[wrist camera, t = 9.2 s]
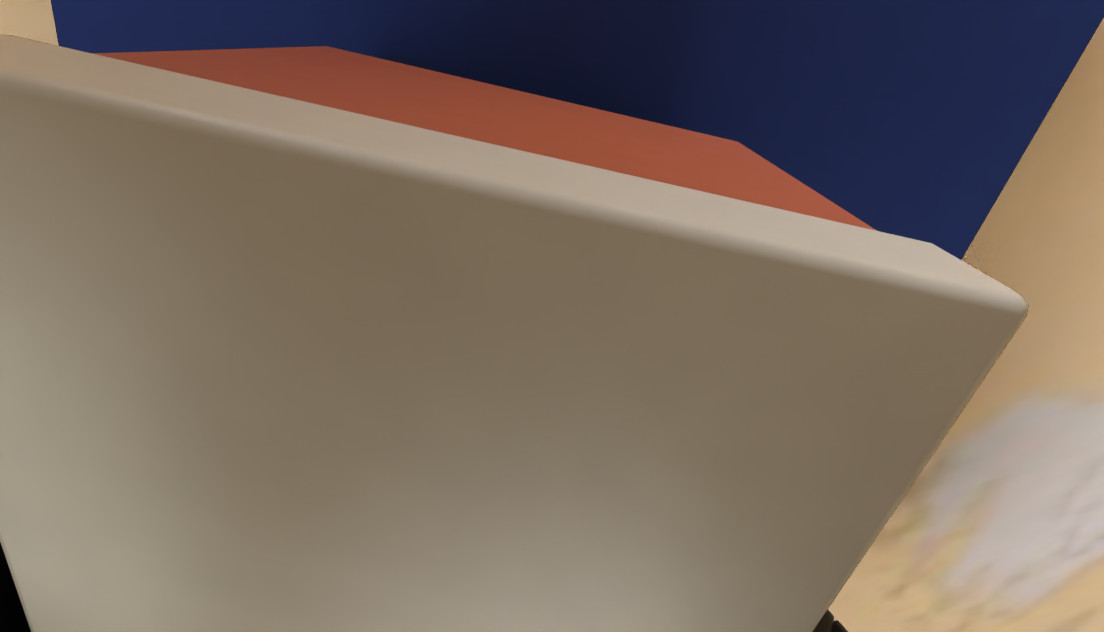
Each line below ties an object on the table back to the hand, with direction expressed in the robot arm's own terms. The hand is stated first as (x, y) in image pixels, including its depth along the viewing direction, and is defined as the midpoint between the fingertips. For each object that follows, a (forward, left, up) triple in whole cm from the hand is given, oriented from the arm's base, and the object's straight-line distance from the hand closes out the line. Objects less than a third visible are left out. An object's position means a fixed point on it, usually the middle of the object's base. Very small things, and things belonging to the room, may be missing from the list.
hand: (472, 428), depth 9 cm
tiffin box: (0, 0, -1) cm, 1 cm away
